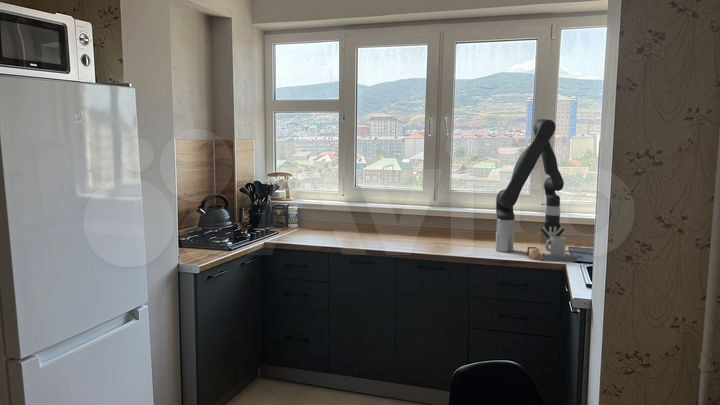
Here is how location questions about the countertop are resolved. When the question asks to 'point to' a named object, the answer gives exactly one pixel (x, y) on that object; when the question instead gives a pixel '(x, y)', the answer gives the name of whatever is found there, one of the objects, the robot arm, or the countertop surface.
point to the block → (529, 248)
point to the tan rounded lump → (534, 253)
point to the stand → (559, 257)
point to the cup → (556, 245)
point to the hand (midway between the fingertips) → (551, 244)
